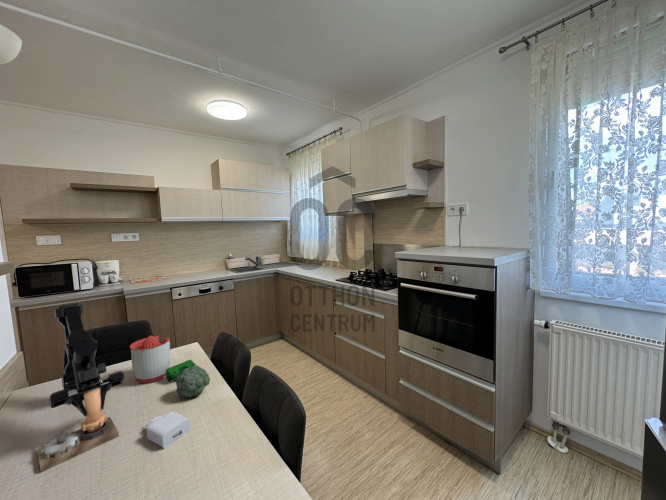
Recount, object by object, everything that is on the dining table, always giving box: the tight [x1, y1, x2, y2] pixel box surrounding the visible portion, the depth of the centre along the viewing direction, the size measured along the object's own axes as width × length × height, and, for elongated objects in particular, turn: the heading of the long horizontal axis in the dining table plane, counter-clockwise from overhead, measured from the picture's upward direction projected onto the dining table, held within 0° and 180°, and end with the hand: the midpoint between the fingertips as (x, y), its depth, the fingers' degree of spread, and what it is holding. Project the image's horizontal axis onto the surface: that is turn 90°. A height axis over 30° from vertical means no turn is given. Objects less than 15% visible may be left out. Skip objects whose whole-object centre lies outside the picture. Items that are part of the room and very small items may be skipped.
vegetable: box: [175, 365, 211, 399], centre depth 117 cm, size 12×13×15 cm
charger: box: [145, 411, 191, 449], centre depth 94 cm, size 5×9×15 cm
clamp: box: [165, 359, 196, 382], centre depth 130 cm, size 12×6×9 cm, turn 139°
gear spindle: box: [80, 388, 108, 434], centre depth 92 cm, size 7×7×13 cm
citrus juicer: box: [129, 335, 171, 384], centre depth 131 cm, size 16×17×20 cm
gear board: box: [36, 416, 120, 473], centre depth 89 cm, size 18×12×5 cm, turn 140°
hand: (94, 412), depth 91 cm, fingers closed on gear spindle, 4 cm apart
